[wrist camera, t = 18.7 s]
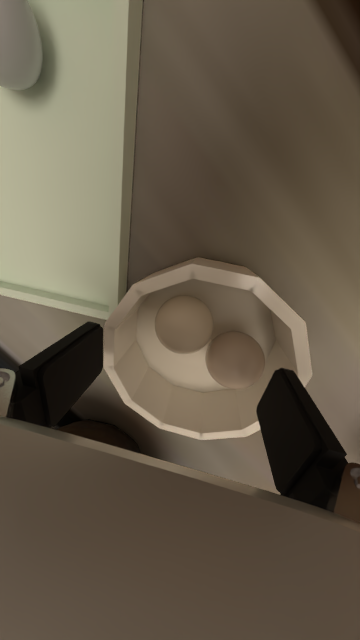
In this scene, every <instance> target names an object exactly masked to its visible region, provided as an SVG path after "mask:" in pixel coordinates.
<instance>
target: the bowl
mask: <svg viewBox="0 0 360 640" xmlns="http://www.w3.org/2000/svg"><path fill="white" fill-rule="evenodd" d="M179 295H190V296H194V297H196V298H198V299H200V300H202V301H203V302H204V303H205V304H206V305H207V306H208V308H209V309H210V311H211V313H212V316H213V320H214V329H213V334H212V336H211V338H210V340H209V342H208V343H207V344H206V345H205V346H204V347H203V348H202V349H200V350H199V351H197V352H194V353H191V354H178V353H174V352H172V351H170V350H168V349H167V348H166V347H164V346H163V345H162V343H161V342H160V341H159V339H158V337H157V335H156V331H155V317H156V314H157V312H158V310H159V308H160V307H161V306H162V304H163V303H164V302H166V301H167V300H168V299H170V298H172V297H175V296H179ZM228 331H239V332H243V333H246V334H248V335H250V336H251V337H252V338H254V339H255V340H256V341H257V342H258V343H259V345H260V346H261V348H262V350H263V353H264V356H265V368H264V371H263V374H262V376H261V377H260V379H259V380H258V381H257V382H256V383H255V384H253V385H252V386H250V387H248V388H245V389H229V388H226V387H224V386H222V385H220V384H219V383H217V382H216V381H215V380H214V379H213V378H212V377H211V375H210V373H209V372H208V369H207V366H206V361H205V356H206V351H207V348H208V346H209V344H210V342H211V341H212V340H213V339H214V338H215V337H216V336H218V335H220V334H222V333H224V332H228ZM280 368H285V369H289V370H293V371H294V372H295V373H296V375H297V376H298V378H299V380H300V381H301V383H302V384H303V386H304V387H305V386H306V384H307V383H308V381H309V380H310V378H311V376H312V367H311V359H310V351H309V344H308V336H307V328H306V322H305V321H304V320H303V319H302V318H301V317H300V316H299V315H298V314H297V313H296V312H295V311H294V310H293V309H292V308H291V307H289V306H288V305H287V304H286V303H285V302H284V301H283V300H282V299H281V298H280V297H279V296H278V295H277V294H276V293H275V292H274V291H273V290H272V289H271V288H270V287H269V286H268V285H267V284H266V283H265V282H264V281H263V280H262V279H261V278H260V277H258V276H257V275H256V274H254V273H253V272H252V271H250V270H249V269H248V268H246V267H243V266H238V265H233V264H229V263H225V262H222V261H215V260H209V259H204V258H199V257H197V258H194V259H191V260H188V261H186V262H183V263H180V264H176V265H174V266H172V267H169V268H166V269H163V270H161V271H158V272H155V273H153V274H151V275H149V276H148V277H146V278H144V279H142V280H140V281H138V282H137V283H135V284H133V285H132V287H131V288H130V289H129V291H128V292H127V293H126V295H125V296H124V298H123V299H122V300H121V302H120V303H119V304H118V306H117V307H116V309H115V310H114V311H113V313H112V314H111V315H110V317H109V318H108V320H107V321H106V322H105V324H104V369H105V371H106V372H107V374H108V376H109V378H110V379H111V381H112V383H113V384H114V386H115V388H116V390H117V391H118V393H119V395H120V396H121V398H122V400H123V402H124V403H125V404H126V405H127V406H129V407H130V408H132V409H133V410H134V411H136V412H137V413H139V414H140V415H141V416H143V417H144V418H145V419H147V420H148V421H150V422H151V423H152V424H154V425H155V426H157V427H158V428H160V429H163V430H167V431H170V432H174V433H178V434H181V435H185V436H188V437H192V438H196V439H199V440H209V439H222V438H235V437H247V436H249V435H251V434H253V433H254V432H256V431H258V430H260V425H259V421H258V417H257V413H256V409H257V405H258V403H259V401H260V399H261V397H262V395H263V393H264V391H265V389H266V387H267V385H268V383H269V381H270V379H271V377H272V375H273V373H274V371H275V370H279V369H280Z"/></svg>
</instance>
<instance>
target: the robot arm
mask: <svg viewBox="0 0 360 640" xmlns="http://www.w3.org/2000/svg"><path fill="white" fill-rule="evenodd" d="M102 368H103V328H102V327H101V326H100V324H97V323H93V322H87V323H85V324H84V325H82V326H80V327H79V328H77V329H76V330H74V331H73V332H71V333H70V334H68V335H67V336H65V337H63V338H62V339H60V340H59V341H57V342H56V343H54V344H53V345H51V346H50V347H48V348H46V349H45V350H43V351H42V352H40V353H39V354H37V355H36V356H34V357H33V358H31V359H29V360H28V361H26V362H25V363H23V364H22V365H20V366H19V371H17V372H16V373H14V372H13V371H11V370H8V369H0V640H360V464H357V463H348V462H347V460H346V459H345V456H346V455H347V454H346V452H345V451H344V449H343V447H342V446H341V444H340V443H339V441H338V440H337V438H336V436H335V435H334V433H333V432H332V430H331V428H330V427H329V425H328V424H327V422H326V421H325V419H324V417H323V416H322V414H321V413H320V411H319V410H318V408H317V406H316V405H315V403H314V402H313V400H312V399H311V397H310V395H309V394H308V392H307V391H306V389H305V387H304V386H303V384H302V383H301V381H300V380H299V378H298V376H297V375H296V373H295V372H294V371H293V370H289V369H285V368H280V369H279V370H275V371H274V373H273V375H272V377H271V379H270V381H269V383H268V385H267V387H266V389H265V391H264V393H263V395H262V397H261V399H260V401H259V403H258V405H257V409H256V413H257V417H258V421H259V425H260V429H261V433H262V436H263V440H264V444H265V448H266V452H267V456H268V459H269V463H270V467H271V471H272V475H273V479H274V483H275V486H276V489H277V490H278V491H279V492H280V493H281V495H278V494H275V493H272V492H269V491H266V490H262V489H259V488H255V487H252V486H249V485H245V484H242V483H238V482H235V481H232V480H228V479H225V478H222V477H218V476H215V475H211V474H208V473H205V472H201V471H198V470H194V469H191V468H188V467H184V466H181V465H177V464H174V463H170V462H167V461H164V460H160V459H157V458H153V457H150V456H146V455H143V454H139V453H136V452H132V451H129V450H125V449H122V448H119V447H115V446H111V445H108V444H104V443H101V442H97V441H94V440H90V439H87V438H83V437H80V436H76V435H73V434H69V433H66V432H62V431H59V430H55V429H51V428H50V427H51V426H55V425H56V424H57V423H58V422H59V421H60V420H61V419H62V418H63V416H64V415H65V414H66V413H67V412H68V410H69V409H70V408H71V407H72V406H73V405H74V403H75V402H76V401H77V400H78V399H79V397H80V396H81V395H82V394H83V393H84V392H85V390H86V389H87V388H88V387H89V386H90V385H91V383H92V382H93V381H94V380H95V379H96V377H97V376H98V375H99V374H100V373H101V371H102Z"/></svg>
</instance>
